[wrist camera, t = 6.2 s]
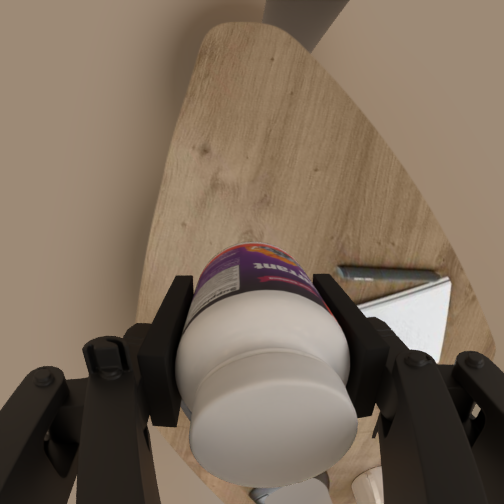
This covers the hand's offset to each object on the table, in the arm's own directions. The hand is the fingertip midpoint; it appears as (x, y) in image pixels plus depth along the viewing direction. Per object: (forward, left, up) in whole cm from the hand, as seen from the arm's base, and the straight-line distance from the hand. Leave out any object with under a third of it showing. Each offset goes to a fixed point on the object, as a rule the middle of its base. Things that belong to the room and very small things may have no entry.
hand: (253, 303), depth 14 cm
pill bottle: (0, 0, -2) cm, 2 cm away
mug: (+48, +24, -20) cm, 57 cm away
